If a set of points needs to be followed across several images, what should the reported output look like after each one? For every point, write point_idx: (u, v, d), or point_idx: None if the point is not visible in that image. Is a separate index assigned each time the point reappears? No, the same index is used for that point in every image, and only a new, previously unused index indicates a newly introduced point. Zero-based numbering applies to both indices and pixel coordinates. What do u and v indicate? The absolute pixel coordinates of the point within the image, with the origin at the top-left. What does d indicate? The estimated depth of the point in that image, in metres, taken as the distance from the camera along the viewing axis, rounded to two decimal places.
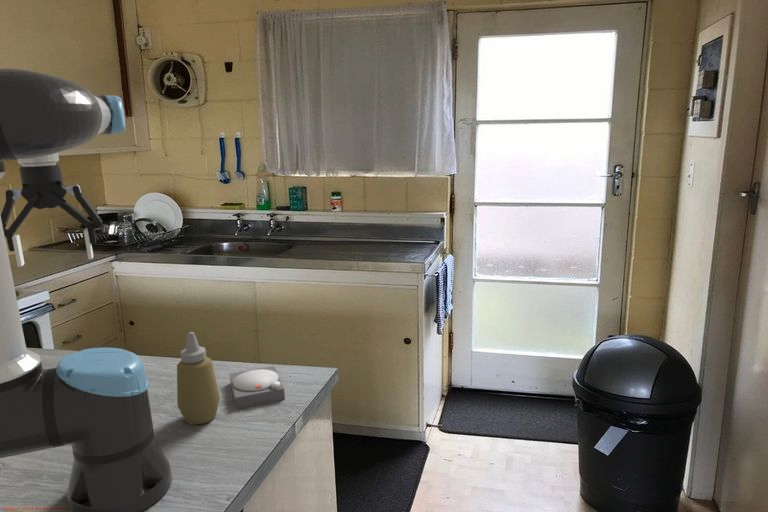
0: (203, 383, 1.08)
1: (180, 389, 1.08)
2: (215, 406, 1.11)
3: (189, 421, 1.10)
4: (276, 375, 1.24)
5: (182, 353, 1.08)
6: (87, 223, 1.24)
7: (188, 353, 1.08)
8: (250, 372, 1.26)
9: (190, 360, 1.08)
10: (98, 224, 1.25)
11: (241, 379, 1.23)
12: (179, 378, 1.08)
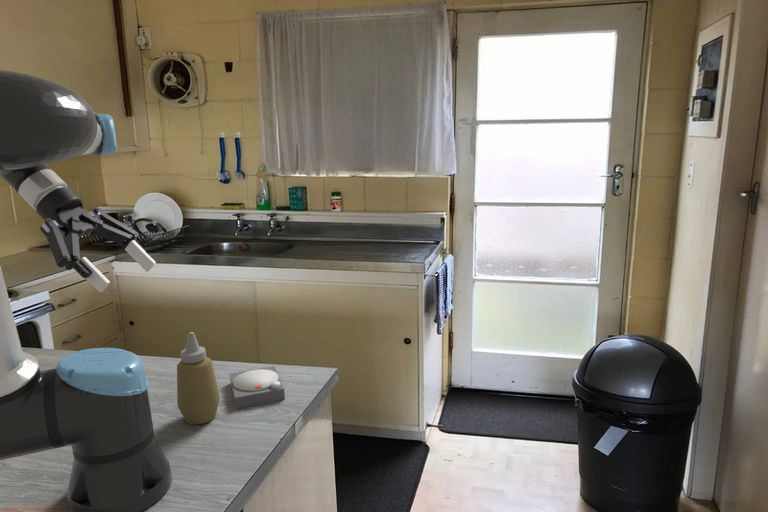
0: (203, 383, 1.08)
1: (180, 389, 1.08)
2: (215, 406, 1.11)
3: (189, 421, 1.10)
4: (276, 375, 1.24)
5: (182, 353, 1.08)
6: (128, 234, 1.16)
7: (188, 353, 1.08)
8: (250, 372, 1.26)
9: (190, 360, 1.08)
10: (137, 234, 1.18)
11: (241, 379, 1.23)
12: (179, 378, 1.08)
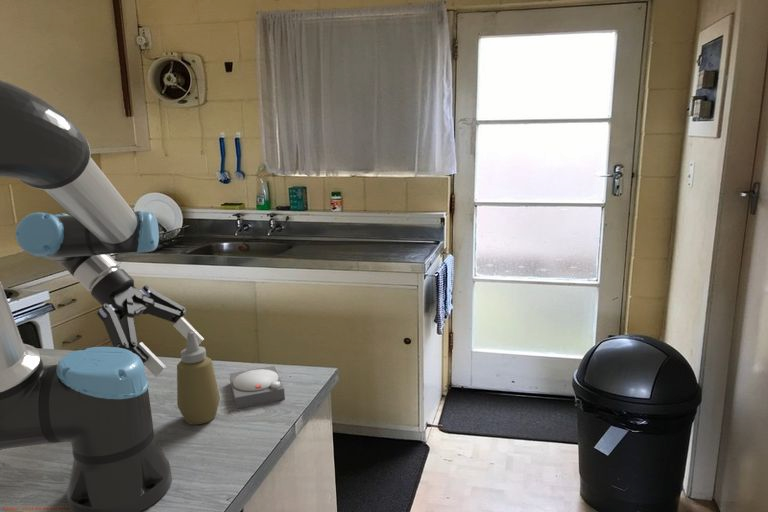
0: (203, 383, 1.08)
1: (180, 389, 1.08)
2: (215, 406, 1.11)
3: (189, 421, 1.10)
4: (276, 375, 1.24)
5: (182, 353, 1.08)
6: (177, 311, 1.19)
7: (188, 353, 1.08)
8: (250, 372, 1.26)
9: (190, 360, 1.08)
10: (184, 309, 1.21)
11: (241, 379, 1.23)
12: (179, 378, 1.08)
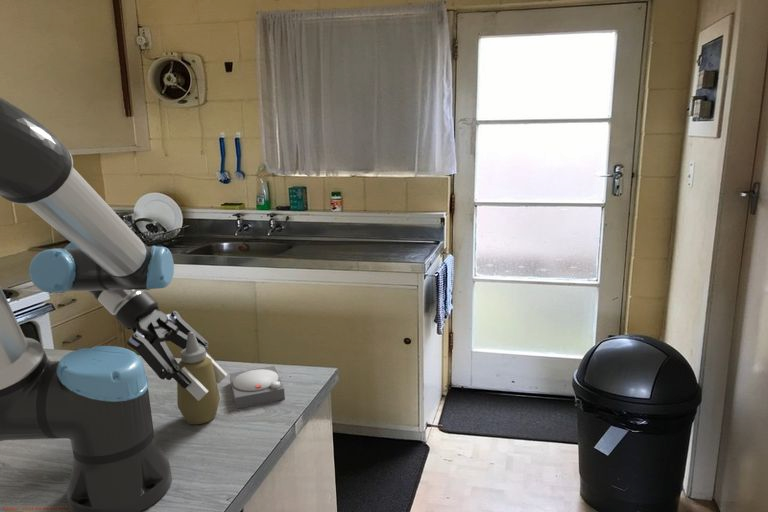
0: (203, 383, 1.08)
1: (180, 389, 1.08)
2: (215, 406, 1.11)
3: (189, 421, 1.10)
4: (276, 375, 1.24)
5: (182, 353, 1.08)
6: (200, 345, 1.14)
7: (188, 353, 1.08)
8: (250, 372, 1.26)
9: (190, 360, 1.08)
10: (206, 343, 1.16)
11: (241, 379, 1.23)
12: None
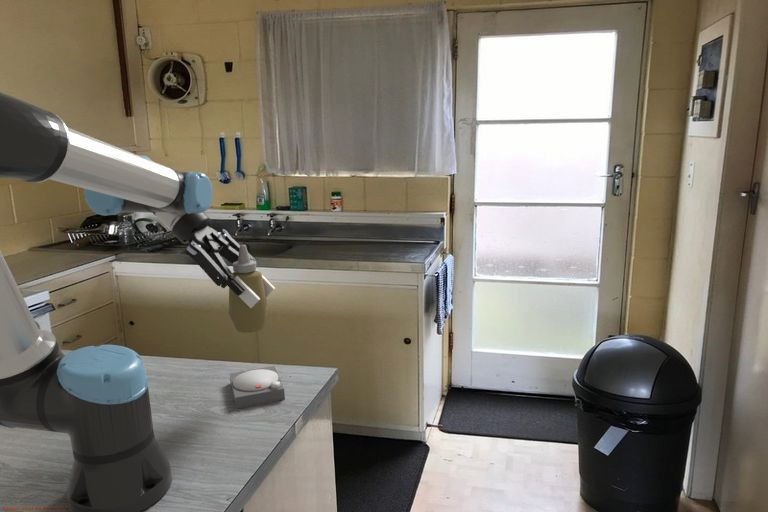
0: (254, 292, 1.15)
1: (232, 298, 1.15)
2: (264, 316, 1.18)
3: (240, 329, 1.17)
4: (276, 375, 1.24)
5: (234, 264, 1.15)
6: None
7: (240, 264, 1.15)
8: (250, 372, 1.26)
9: (243, 270, 1.14)
10: (254, 260, 1.23)
11: (241, 379, 1.23)
12: None
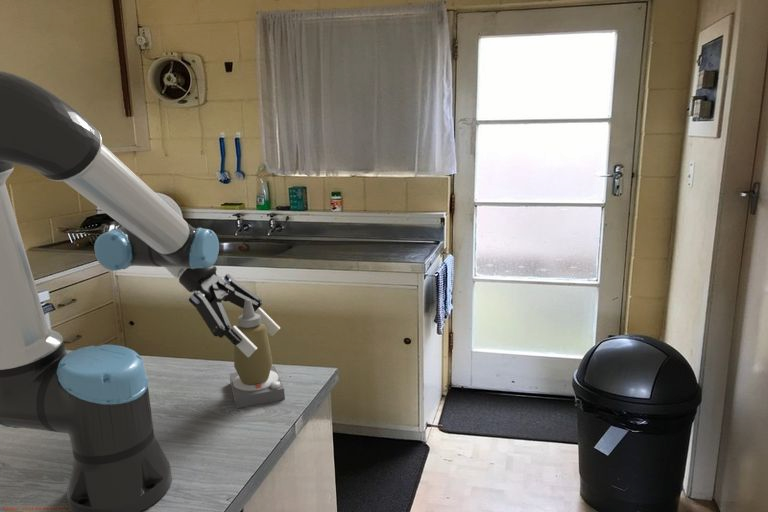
0: (259, 346, 1.18)
1: (237, 351, 1.18)
2: (269, 368, 1.21)
3: (245, 381, 1.20)
4: (276, 375, 1.24)
5: (240, 318, 1.18)
6: (255, 301, 1.25)
7: (245, 318, 1.18)
8: None
9: (248, 324, 1.17)
10: (260, 300, 1.27)
11: None
12: None
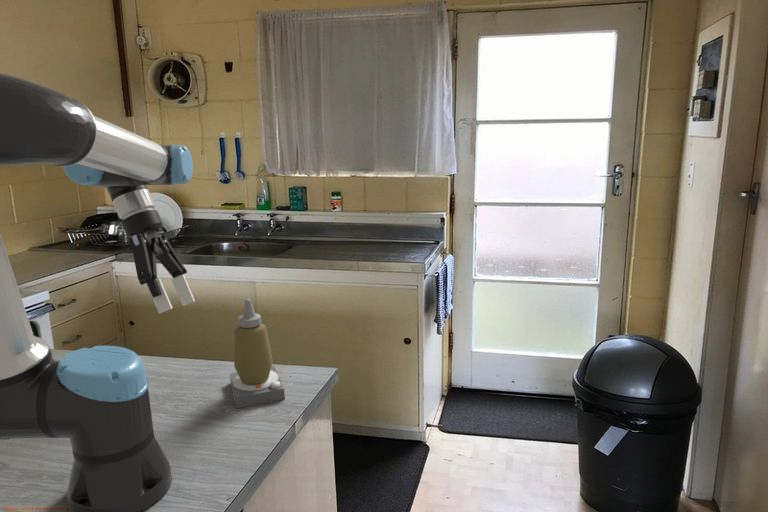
0: (259, 346, 1.18)
1: (238, 351, 1.18)
2: (269, 368, 1.21)
3: (245, 381, 1.20)
4: (276, 375, 1.24)
5: (240, 318, 1.18)
6: (180, 268, 1.28)
7: (246, 318, 1.18)
8: None
9: (248, 324, 1.17)
10: (185, 269, 1.30)
11: None
12: (237, 341, 1.18)
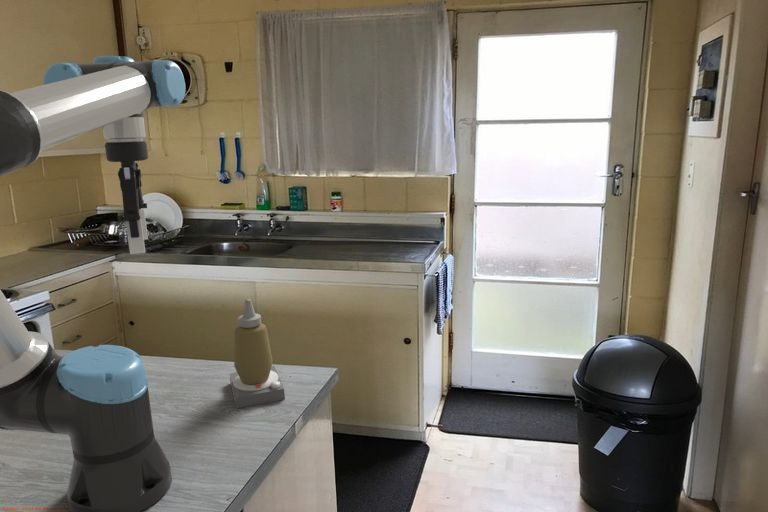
0: (259, 346, 1.18)
1: (238, 351, 1.18)
2: (269, 368, 1.21)
3: (245, 381, 1.20)
4: (276, 375, 1.24)
5: (240, 318, 1.18)
6: (142, 201, 1.21)
7: (246, 318, 1.18)
8: None
9: (248, 324, 1.17)
10: (143, 202, 1.23)
11: None
12: (237, 341, 1.18)
